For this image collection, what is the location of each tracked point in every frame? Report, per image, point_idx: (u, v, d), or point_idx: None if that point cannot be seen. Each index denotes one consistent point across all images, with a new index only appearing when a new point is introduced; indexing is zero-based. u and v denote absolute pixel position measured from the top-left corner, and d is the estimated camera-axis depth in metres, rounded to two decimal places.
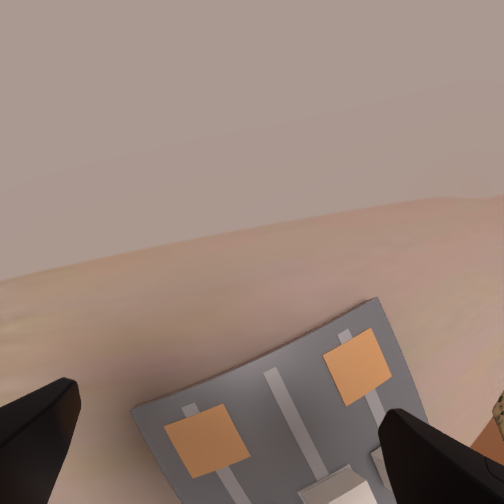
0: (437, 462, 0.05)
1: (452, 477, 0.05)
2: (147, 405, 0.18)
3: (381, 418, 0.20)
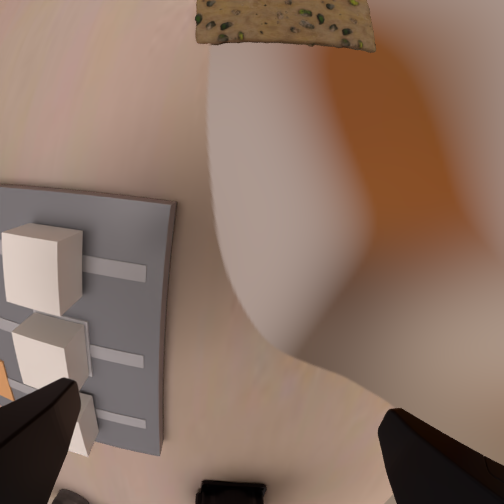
0: (437, 462, 0.05)
1: (452, 477, 0.05)
2: None
3: None
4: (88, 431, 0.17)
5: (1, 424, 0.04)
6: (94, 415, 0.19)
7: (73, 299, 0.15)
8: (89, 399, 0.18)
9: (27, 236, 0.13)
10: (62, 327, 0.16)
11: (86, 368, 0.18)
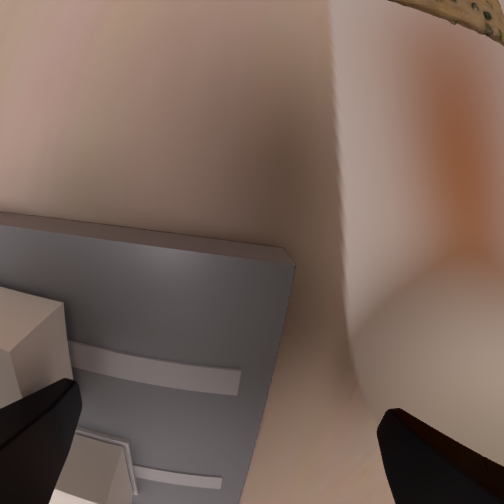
0: (436, 462, 0.05)
1: (451, 477, 0.05)
2: None
3: None
4: None
5: (2, 425, 0.04)
6: None
7: None
8: None
9: None
10: (89, 455, 0.08)
11: (130, 491, 0.10)
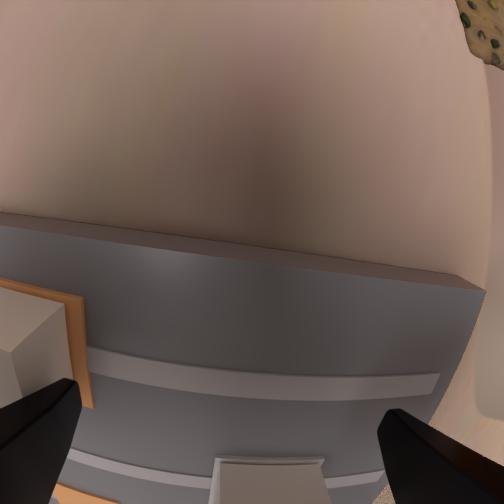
0: (436, 463, 0.05)
1: (451, 477, 0.05)
2: None
3: (164, 374, 0.09)
4: None
5: (2, 425, 0.04)
6: None
7: None
8: None
9: None
10: (295, 481, 0.09)
11: None
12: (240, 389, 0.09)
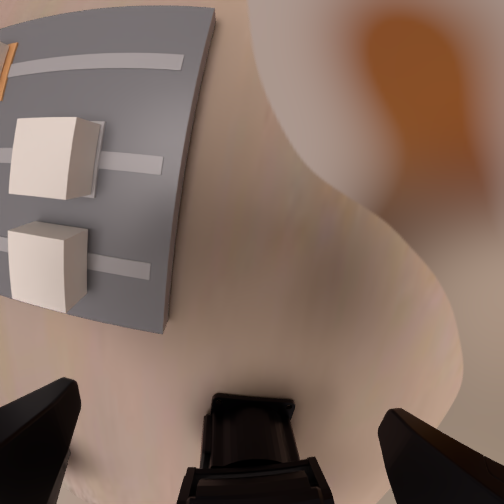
0: (437, 462, 0.05)
1: (452, 477, 0.05)
2: None
3: (36, 65, 0.13)
4: (74, 274, 0.15)
5: (1, 424, 0.04)
6: (85, 261, 0.16)
7: None
8: (84, 230, 0.16)
9: None
10: None
11: (89, 181, 0.15)
12: (64, 67, 0.14)
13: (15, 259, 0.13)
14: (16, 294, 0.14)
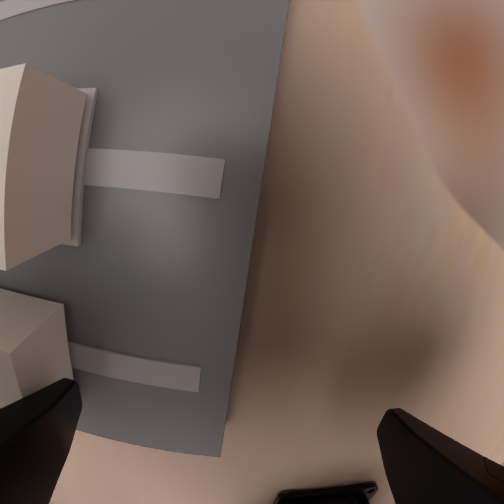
0: (437, 463, 0.05)
1: (450, 477, 0.05)
2: None
3: None
4: None
5: (2, 425, 0.04)
6: (67, 360, 0.08)
7: None
8: (55, 309, 0.07)
9: None
10: None
11: (66, 213, 0.07)
12: (30, 6, 0.06)
13: None
14: None
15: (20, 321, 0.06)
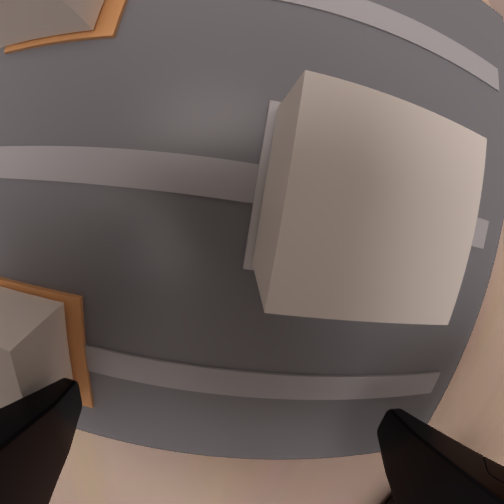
0: (437, 462, 0.05)
1: (451, 477, 0.05)
2: None
3: None
4: None
5: (2, 425, 0.04)
6: (66, 358, 0.08)
7: (79, 4, 0.05)
8: (55, 308, 0.07)
9: None
10: None
11: None
12: (302, 0, 0.07)
13: None
14: None
15: (20, 319, 0.06)
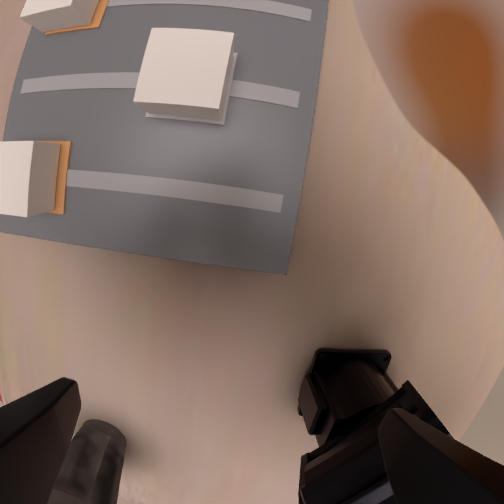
0: (437, 462, 0.05)
1: (452, 476, 0.05)
2: None
3: None
4: (41, 181, 0.14)
5: (1, 424, 0.04)
6: (55, 175, 0.15)
7: (83, 13, 0.12)
8: None
9: None
10: None
11: (222, 106, 0.15)
12: (183, 1, 0.14)
13: None
14: None
15: None
